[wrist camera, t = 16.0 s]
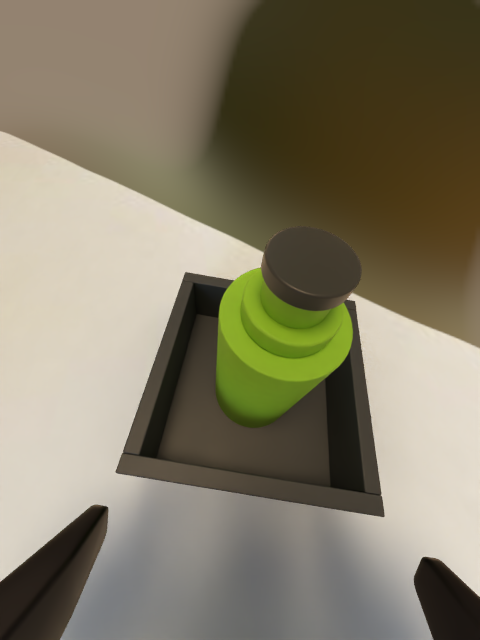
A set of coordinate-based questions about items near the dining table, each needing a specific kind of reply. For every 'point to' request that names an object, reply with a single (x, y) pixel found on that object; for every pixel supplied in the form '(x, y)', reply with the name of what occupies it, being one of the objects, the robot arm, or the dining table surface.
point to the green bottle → (284, 325)
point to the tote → (243, 442)
